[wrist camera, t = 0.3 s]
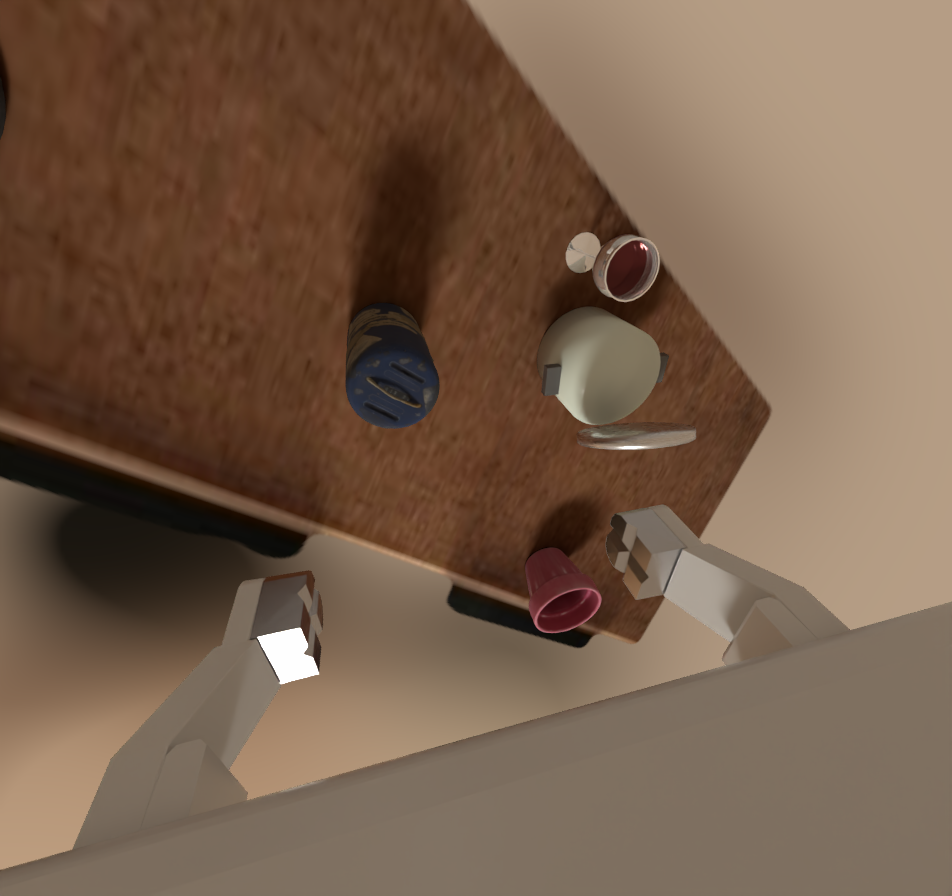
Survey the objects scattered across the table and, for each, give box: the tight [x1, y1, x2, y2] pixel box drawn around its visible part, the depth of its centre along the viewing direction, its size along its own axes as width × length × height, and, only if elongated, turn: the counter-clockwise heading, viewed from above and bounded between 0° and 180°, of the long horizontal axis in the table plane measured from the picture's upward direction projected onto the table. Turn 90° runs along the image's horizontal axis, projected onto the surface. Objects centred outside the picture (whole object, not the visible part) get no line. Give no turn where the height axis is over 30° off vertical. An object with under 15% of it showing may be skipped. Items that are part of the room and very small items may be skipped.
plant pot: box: [525, 547, 601, 633], centre depth 84 cm, size 14×14×13 cm
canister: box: [346, 303, 439, 428], centre depth 47 cm, size 10×10×18 cm
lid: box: [577, 422, 696, 450], centre depth 52 cm, size 14×14×2 cm
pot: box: [537, 307, 669, 425], centre depth 59 cm, size 14×18×10 cm
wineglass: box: [566, 232, 660, 302], centre depth 50 cm, size 7×7×12 cm
